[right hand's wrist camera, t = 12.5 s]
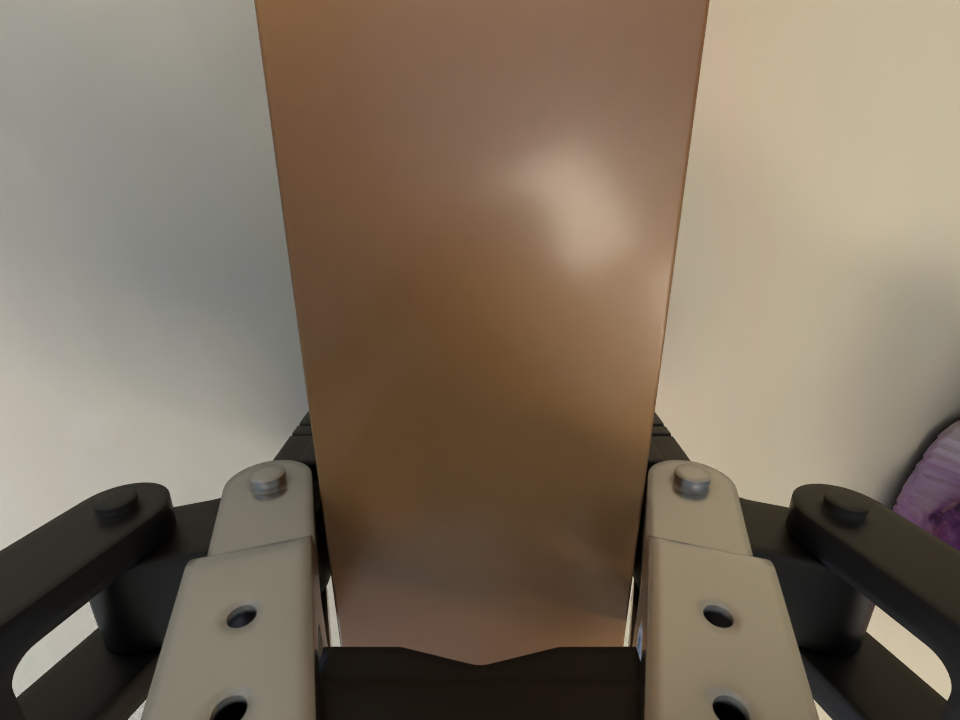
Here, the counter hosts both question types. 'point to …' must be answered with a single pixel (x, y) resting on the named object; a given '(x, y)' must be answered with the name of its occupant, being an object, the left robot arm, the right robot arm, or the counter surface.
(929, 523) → the figurine
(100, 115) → the counter surface
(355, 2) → the post
